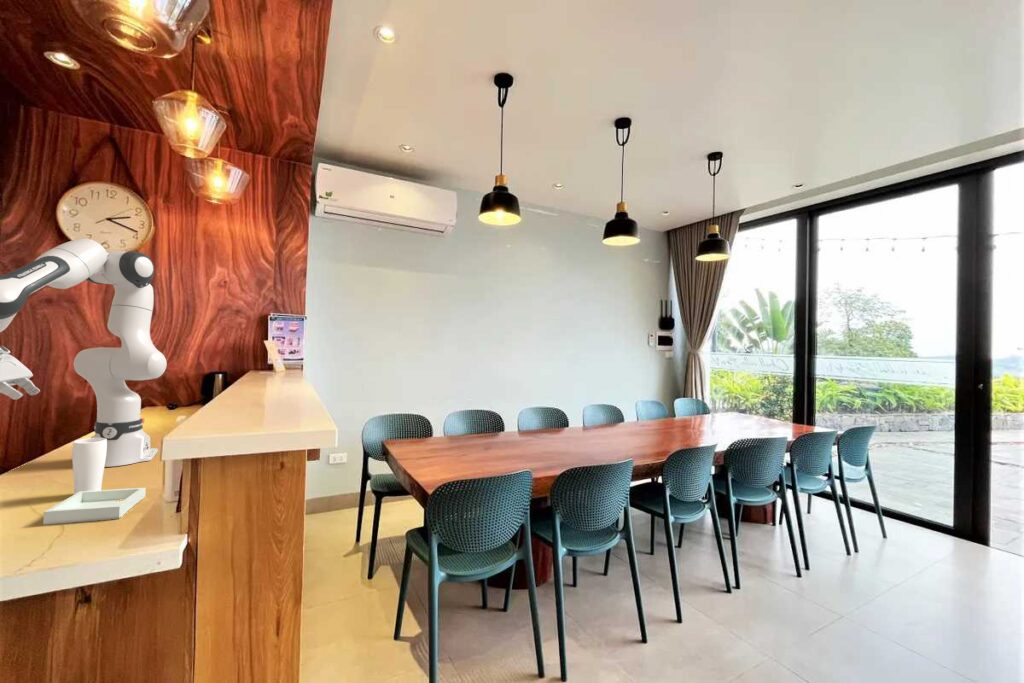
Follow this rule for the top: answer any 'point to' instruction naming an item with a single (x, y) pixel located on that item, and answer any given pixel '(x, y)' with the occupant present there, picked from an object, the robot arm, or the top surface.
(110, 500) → the tray
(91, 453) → the white tall cup
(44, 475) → the top surface
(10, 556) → the top surface
